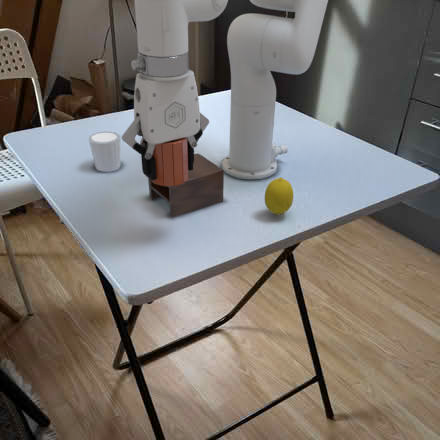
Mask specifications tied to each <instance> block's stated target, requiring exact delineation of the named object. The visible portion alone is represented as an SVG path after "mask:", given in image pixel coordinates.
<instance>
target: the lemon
mask: <svg viewBox="0 0 440 440" xmlns="http://www.w3.org/2000/svg"><path fill="white" fill-rule="evenodd" d="M293 202H294V189H293V186H292V184H291V182H289V181H288V180H287V179H284V178H283V177H278V178H275V179H273V180H271V181H270V182H268V184H267V186H266V188H265V191H264V204H265V207H266V208H267V210H268V211H269V212H271V213H272V214H274V215H275V216H279V215H283V214H285V213H286V212H287V211H289V210H290V208H291V207H292V205H293Z"/></svg>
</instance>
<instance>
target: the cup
mask: <svg viewBox="0 0 440 440" xmlns="http://www.w3.org/2000/svg"><path fill="white" fill-rule="evenodd" d="M152 157H153V158H155V163H156V180H154V181H152V180H151V181H152V182H153V183H155V184H157V185H161V186H176V185H180V184H183V183H184V182H186V181H187V180H188V145H187V137H186V138H182V139H178V140H174V141H170V142H165V143H161V144H155V148H154V151H153V154H152Z"/></svg>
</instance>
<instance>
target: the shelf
mask: <svg viewBox="0 0 440 440" xmlns="http://www.w3.org/2000/svg"><path fill="white" fill-rule="evenodd" d="M224 175H225V171H224V170H223V168H221V167H220V166H218V165H216V164H215V163H214V162H212V161H210V160H209V159H208V158H206V157H205V156H203V155H202V154H201V153H199V152H196V153H194V163H193V170H191V171H190V170H188V180H187V181H186V182H184V183H183V184H180V185H176V186H161V185H157V184H155V183H153V182H152V181H151V180H150V179H149V178H148V177H147V181H148V193H149V199H151V200H156V199H158V198H162V199H163V200H164V201H166V202H167V203H168V204H169V214H170V217H171V218H177V217H180V216H182V215H185V214H189V213H192V212H195V211H199V210H201V209H205V208H208V207H212V206H213V205H216V204H220V203H223V202H224V183H225V182H224V181H225V176H224Z"/></svg>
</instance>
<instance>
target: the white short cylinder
mask: <svg viewBox="0 0 440 440" xmlns="http://www.w3.org/2000/svg"><path fill="white" fill-rule="evenodd" d="M88 143H89V146H90V150H91V154H92V159H93V163H94V167H95V170H97V171H99V172H103V173H110V172H115V171H117V170H119V169H120V168H121V165H122V164H121V136H120V134H119V133H117V132H113V131H99V132H95V133H92V134H91V135H89V136H88Z"/></svg>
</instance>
